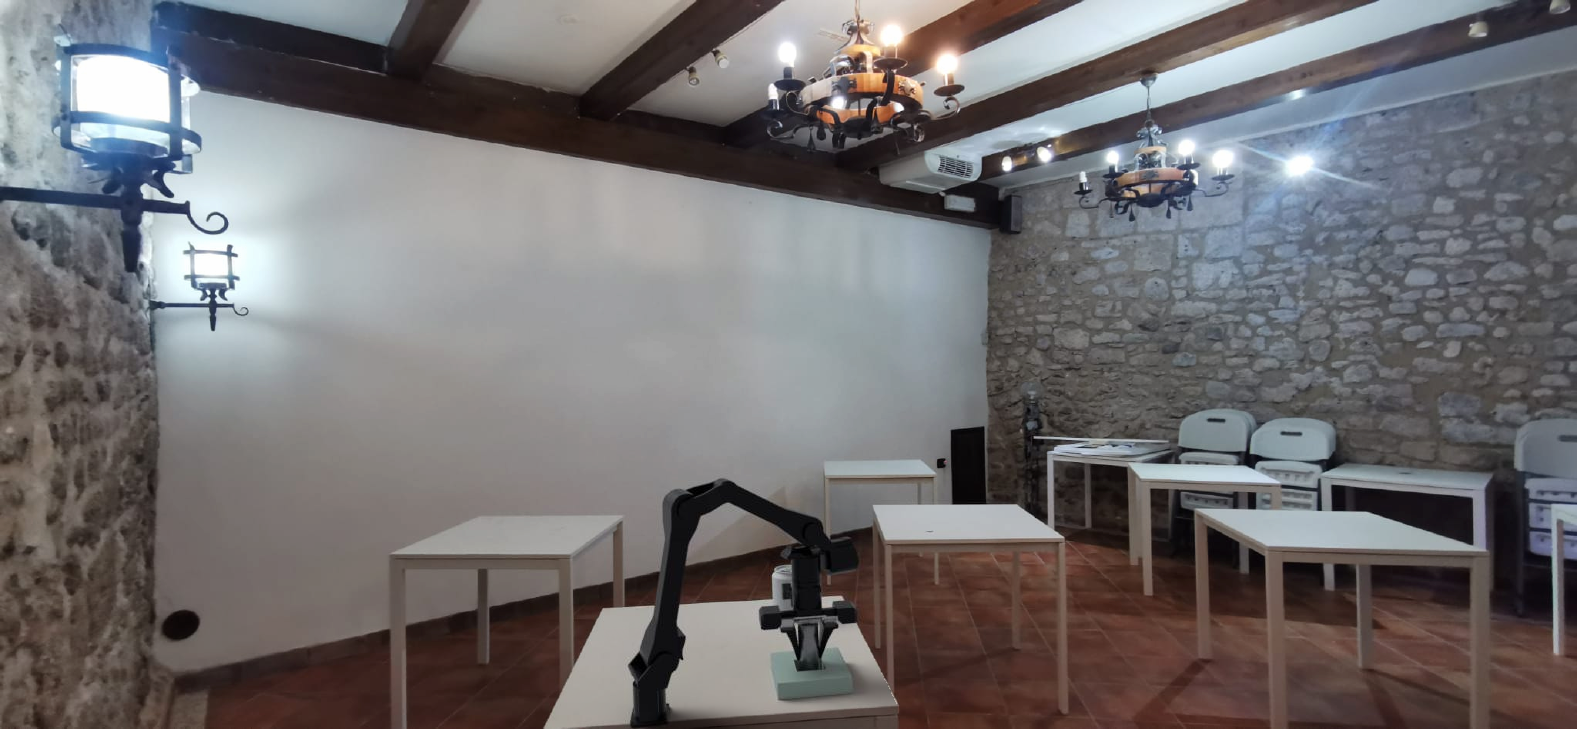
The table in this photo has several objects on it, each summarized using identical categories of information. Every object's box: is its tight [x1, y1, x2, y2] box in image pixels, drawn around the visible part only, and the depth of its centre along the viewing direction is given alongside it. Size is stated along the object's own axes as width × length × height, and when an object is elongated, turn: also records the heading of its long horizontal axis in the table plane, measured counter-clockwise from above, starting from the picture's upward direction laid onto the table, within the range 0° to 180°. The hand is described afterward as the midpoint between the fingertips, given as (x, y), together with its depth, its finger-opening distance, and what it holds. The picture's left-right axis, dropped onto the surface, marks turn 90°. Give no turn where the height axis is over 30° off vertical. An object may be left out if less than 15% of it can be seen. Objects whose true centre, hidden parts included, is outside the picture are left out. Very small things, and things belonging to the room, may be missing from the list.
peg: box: [797, 619, 820, 672], centre depth 138 cm, size 4×4×10 cm
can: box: [771, 564, 796, 622], centre depth 173 cm, size 8×8×12 cm
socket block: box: [770, 647, 854, 701], centre depth 138 cm, size 14×14×3 cm
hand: (809, 658), depth 138 cm, fingers closed on peg, 4 cm apart
